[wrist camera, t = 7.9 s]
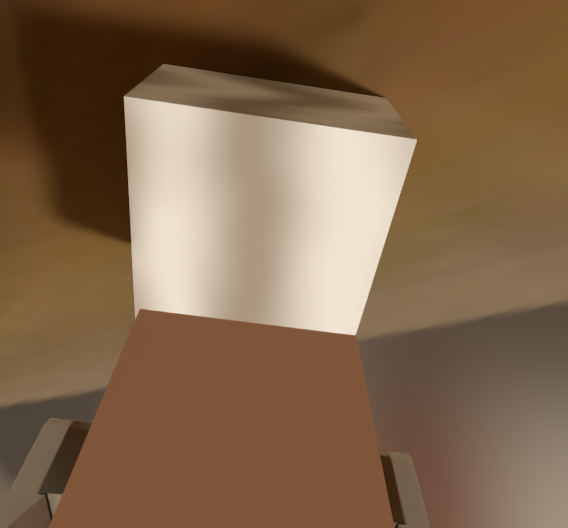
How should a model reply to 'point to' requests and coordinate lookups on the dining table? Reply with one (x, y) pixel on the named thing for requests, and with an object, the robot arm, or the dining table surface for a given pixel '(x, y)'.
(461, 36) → the dining table surface
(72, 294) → the dining table surface
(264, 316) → the base block
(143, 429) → the terracotta block
